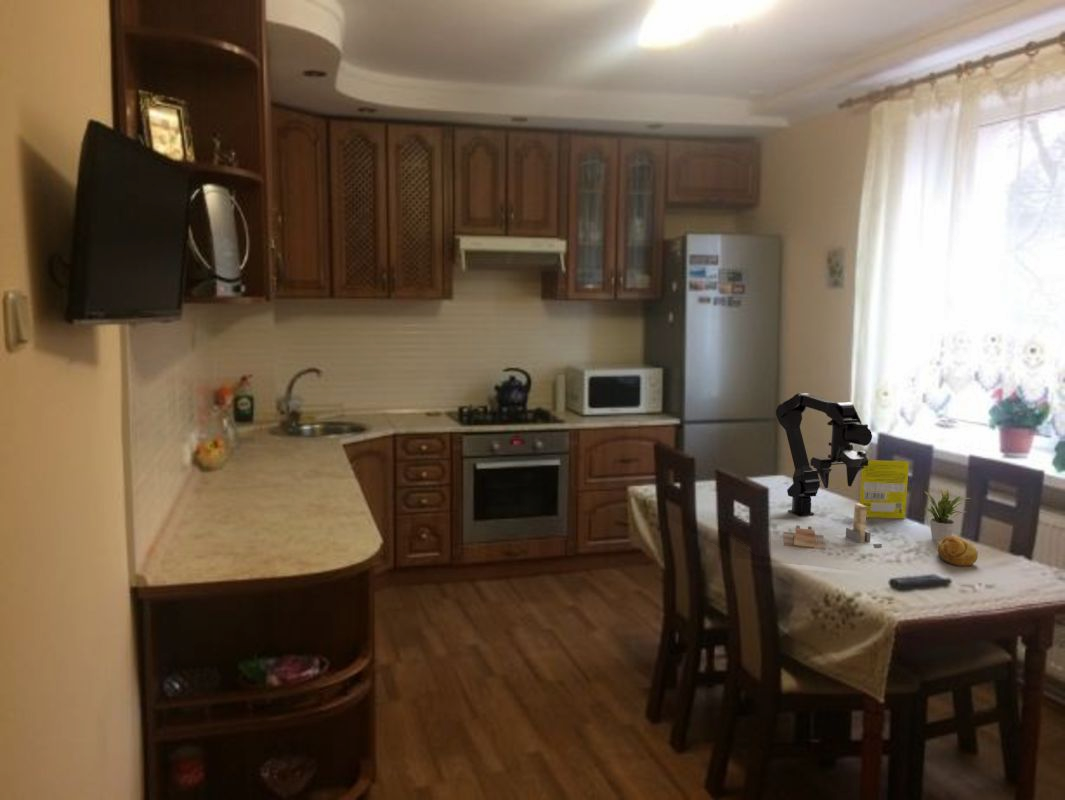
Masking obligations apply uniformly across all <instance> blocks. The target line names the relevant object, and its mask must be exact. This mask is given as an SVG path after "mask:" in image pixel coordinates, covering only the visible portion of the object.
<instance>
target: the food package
mask: <svg viewBox="0 0 1065 800" xmlns="http://www.w3.org/2000/svg"><path fill="white" fill-rule="evenodd" d="M909 465H910V461H908V460H905V461H904V460H879V459H878V460H877V459H876V460H875V459H873V460H872V459H868V466H864V467H865V468H863V469H861V475H860V476H861V478H860V491H859V492H860V494H859V504H862V505H864V506H866V507H867V512H866V516H868V517H867V518H877V517H883V518H884V519H906V506H907V494H908V484H909V483H908V481H909V469H910V466H909ZM885 517H886V518H885ZM883 518H882V519H883Z"/></svg>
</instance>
